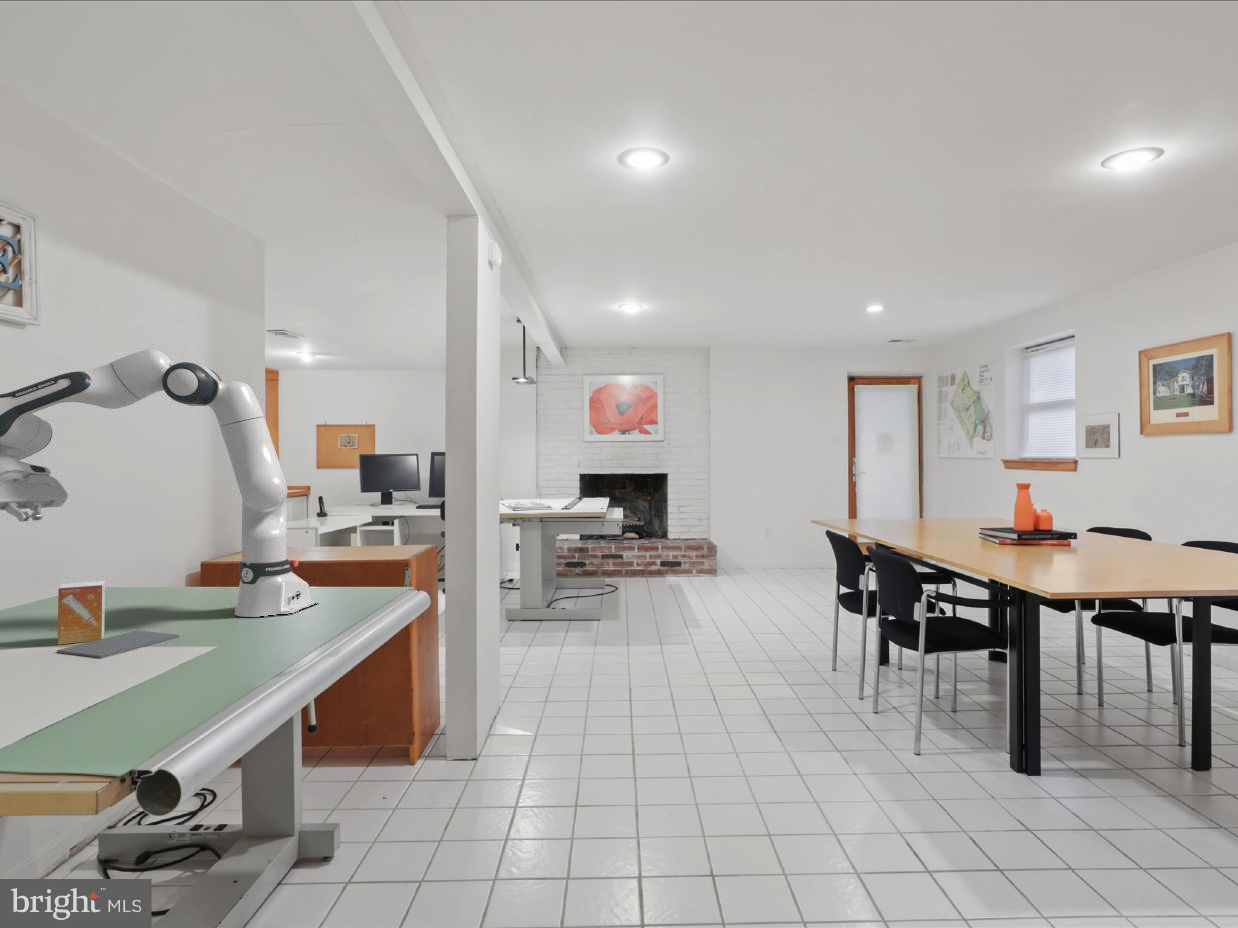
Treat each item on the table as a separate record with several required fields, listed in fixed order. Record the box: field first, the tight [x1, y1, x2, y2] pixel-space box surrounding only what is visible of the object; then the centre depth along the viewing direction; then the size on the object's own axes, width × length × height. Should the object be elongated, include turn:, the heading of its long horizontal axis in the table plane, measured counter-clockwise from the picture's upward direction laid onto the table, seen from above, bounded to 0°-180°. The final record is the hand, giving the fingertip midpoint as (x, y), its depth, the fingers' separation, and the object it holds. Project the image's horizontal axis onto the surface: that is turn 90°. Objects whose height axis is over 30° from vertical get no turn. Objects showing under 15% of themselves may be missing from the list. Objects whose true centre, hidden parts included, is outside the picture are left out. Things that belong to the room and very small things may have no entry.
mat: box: [56, 630, 180, 659], centre depth 153 cm, size 18×13×1 cm
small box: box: [57, 580, 106, 646], centre depth 156 cm, size 8×6×13 cm
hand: (32, 519), depth 161 cm, fingers closed
